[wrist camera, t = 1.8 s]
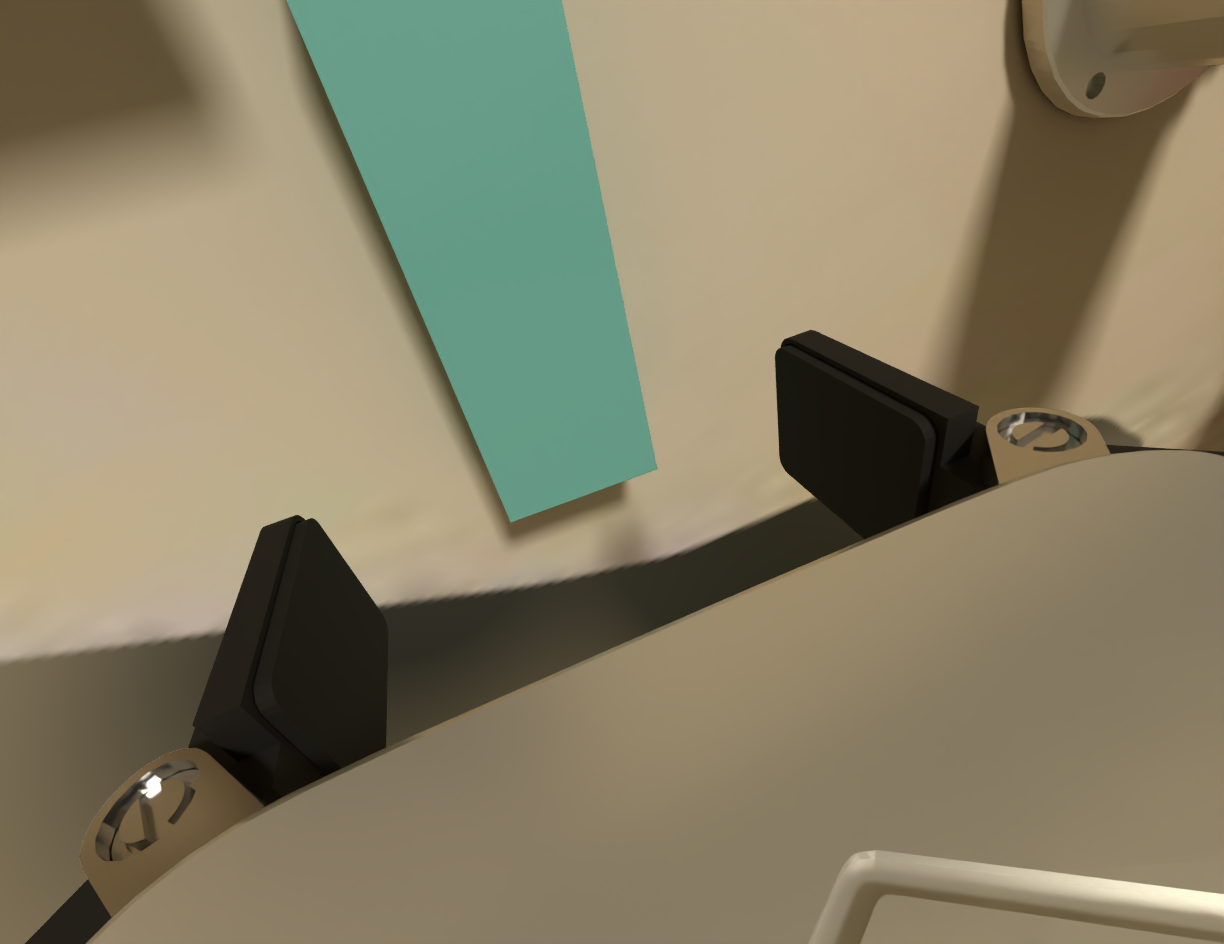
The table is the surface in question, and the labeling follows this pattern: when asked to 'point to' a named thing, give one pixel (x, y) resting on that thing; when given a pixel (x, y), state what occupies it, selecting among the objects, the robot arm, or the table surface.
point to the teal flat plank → (494, 227)
